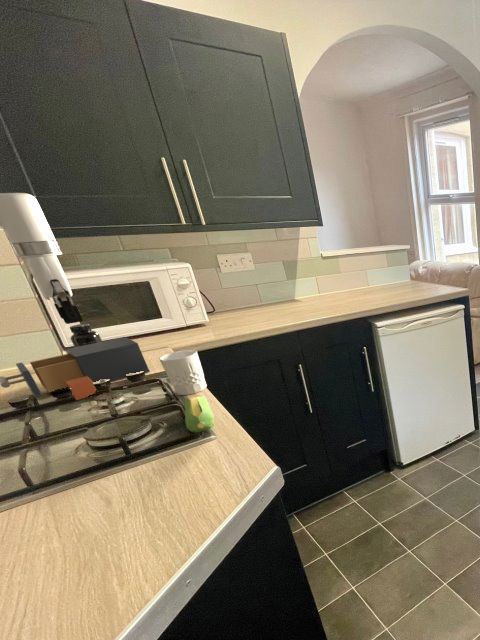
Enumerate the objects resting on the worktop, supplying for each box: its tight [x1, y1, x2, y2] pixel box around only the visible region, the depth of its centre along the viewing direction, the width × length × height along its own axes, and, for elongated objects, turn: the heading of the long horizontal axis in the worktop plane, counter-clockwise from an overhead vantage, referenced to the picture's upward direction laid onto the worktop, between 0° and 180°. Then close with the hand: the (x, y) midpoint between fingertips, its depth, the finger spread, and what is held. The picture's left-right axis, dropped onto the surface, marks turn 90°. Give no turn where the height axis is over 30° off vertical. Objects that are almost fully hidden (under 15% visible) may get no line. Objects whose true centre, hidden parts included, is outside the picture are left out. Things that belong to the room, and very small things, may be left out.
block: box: [65, 376, 97, 401], centre depth 111 cm, size 4×4×4 cm
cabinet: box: [65, 336, 150, 383], centre depth 123 cm, size 14×13×9 cm
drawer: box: [0, 353, 84, 398], centre depth 114 cm, size 17×11×7 cm
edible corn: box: [183, 395, 215, 433], centre depth 95 cm, size 5×20×5 cm, turn 38°
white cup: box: [159, 349, 208, 396], centre depth 110 cm, size 8×8×10 cm
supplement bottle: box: [69, 322, 103, 348], centre depth 136 cm, size 7×7×12 cm
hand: (72, 319), depth 107 cm, fingers open, 9 cm apart
